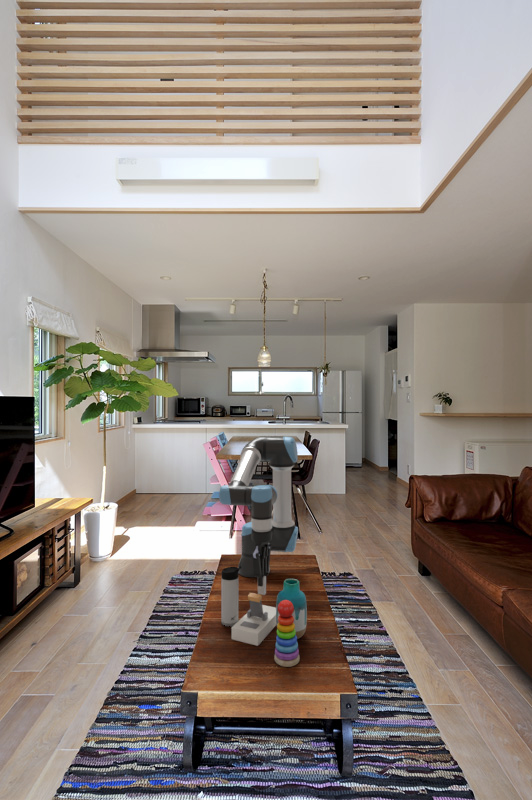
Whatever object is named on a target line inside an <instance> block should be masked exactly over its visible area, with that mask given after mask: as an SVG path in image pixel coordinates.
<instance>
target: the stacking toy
mask: <svg viewBox="0 0 532 800" xmlns="http://www.w3.org/2000/svg"><path fill="white" fill-rule="evenodd" d="M293 611H294V607H293V604H292V603H291V602H290V601H288V600H283V601H281V602H280V603H279V605H278V612H279V614H280V616H279V617H278V622H279V623H278V625H276V636H275V637H276V642H275V648H274V656H273V657H274V662H275V663H276V664H277V665H279V666H280V667H284V668H291V667H294V666H296V665H297V664H299V662H300V659H301V658H300V652H299V644H298V639H297V636H296V635H295V634H296V631H295V629H294V628H295V624H294V623H293V622H294V617H293V616H292V614H293ZM277 628H278V629H277Z"/></svg>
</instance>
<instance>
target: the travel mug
mask: <svg viewBox="0 0 532 800" xmlns="http://www.w3.org/2000/svg"><path fill="white" fill-rule="evenodd" d="M238 571H239V568H238V566H229V567H225V568H223V569H222V570H221V576H220V577H221V578H220V579H221V580H220V581H221V584H220V585H221V594H220V595H221V597H220V598H221V601H220V602H221V603H220V604H221V607H220V608H221V611H220V612H221V615H220V617H221V625H223V626H224V625H225V627H229V626H230V627H233V626H234V625H235V624H236V623H237V622H238V621H239V578H240V577H239V573H238Z"/></svg>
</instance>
